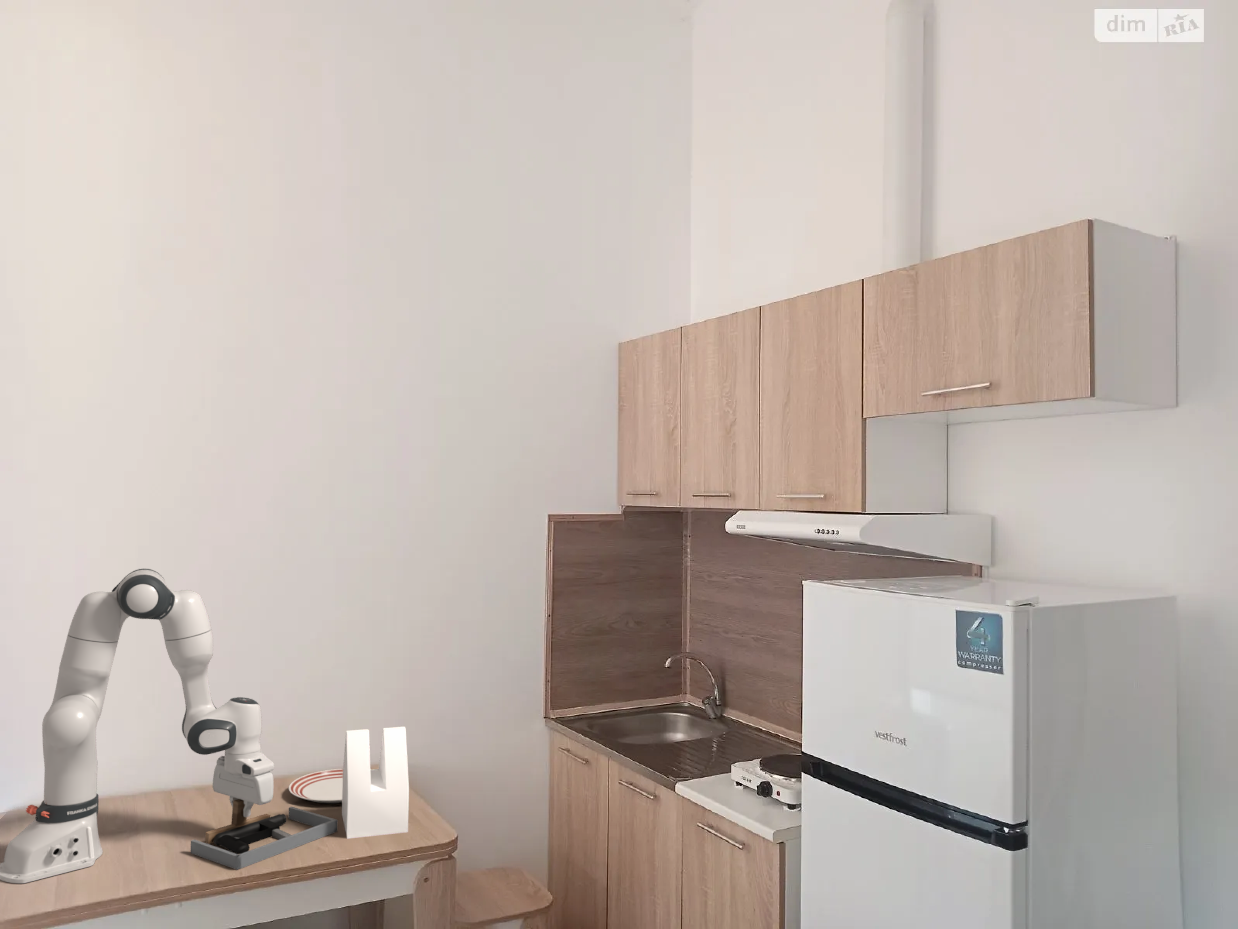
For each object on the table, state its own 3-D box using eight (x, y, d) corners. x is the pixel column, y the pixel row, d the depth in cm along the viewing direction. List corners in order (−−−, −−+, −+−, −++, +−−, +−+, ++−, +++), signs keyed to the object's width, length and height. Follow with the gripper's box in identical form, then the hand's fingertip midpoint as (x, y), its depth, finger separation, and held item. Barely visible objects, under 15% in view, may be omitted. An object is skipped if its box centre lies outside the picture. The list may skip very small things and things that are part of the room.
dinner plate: (387, 805, 269) (387, 793, 269) (284, 812, 261) (285, 800, 261) (384, 776, 295) (384, 766, 295) (291, 782, 288) (292, 771, 288)
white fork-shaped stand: (341, 814, 261) (343, 722, 261) (398, 808, 266) (400, 719, 266) (346, 839, 243) (349, 741, 243) (407, 832, 248) (410, 736, 248)
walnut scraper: (209, 844, 236) (212, 810, 236) (204, 841, 237) (207, 808, 237) (269, 824, 251) (272, 792, 252) (265, 822, 253) (267, 791, 253)
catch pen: (237, 870, 222) (237, 857, 222) (190, 853, 231) (190, 840, 232) (337, 831, 247) (337, 820, 247) (291, 817, 257) (291, 806, 257)
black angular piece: (316, 827, 245) (278, 810, 254) (246, 851, 228) (208, 832, 238) (315, 840, 245) (277, 823, 254) (245, 865, 228) (208, 845, 238)
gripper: (207, 757, 248) (205, 810, 248) (257, 770, 237) (256, 826, 237) (228, 751, 253) (226, 804, 253) (278, 764, 242) (277, 819, 242)
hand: (241, 815), depth 245 cm, fingers closed on walnut scraper, 2 cm apart
